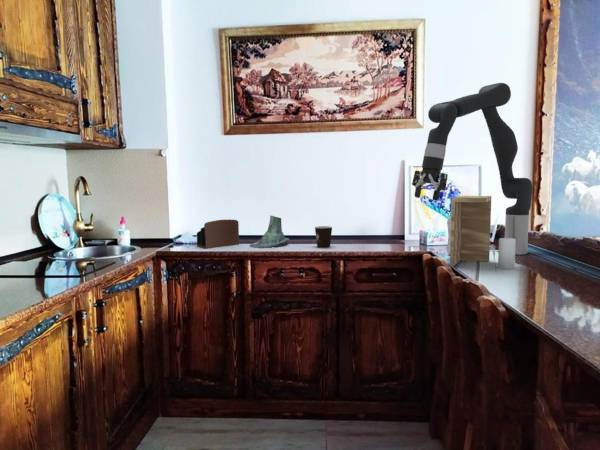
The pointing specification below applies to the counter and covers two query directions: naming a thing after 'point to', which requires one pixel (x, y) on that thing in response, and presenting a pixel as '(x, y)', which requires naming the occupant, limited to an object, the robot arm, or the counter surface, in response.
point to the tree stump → (272, 235)
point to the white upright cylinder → (506, 253)
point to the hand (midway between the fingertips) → (425, 199)
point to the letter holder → (218, 234)
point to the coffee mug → (323, 236)
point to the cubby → (470, 229)
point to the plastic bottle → (449, 235)
